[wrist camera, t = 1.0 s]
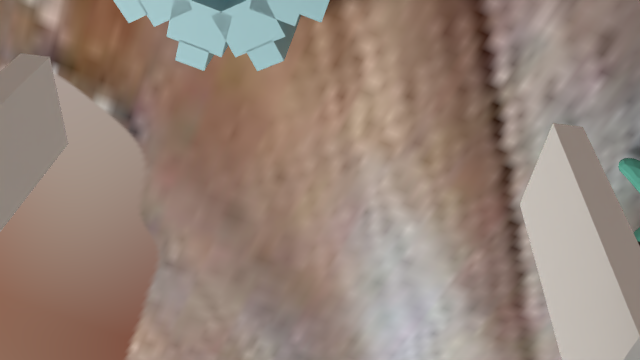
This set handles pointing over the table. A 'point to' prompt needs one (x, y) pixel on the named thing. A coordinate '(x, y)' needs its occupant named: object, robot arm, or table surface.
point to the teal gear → (227, 26)
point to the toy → (632, 178)
